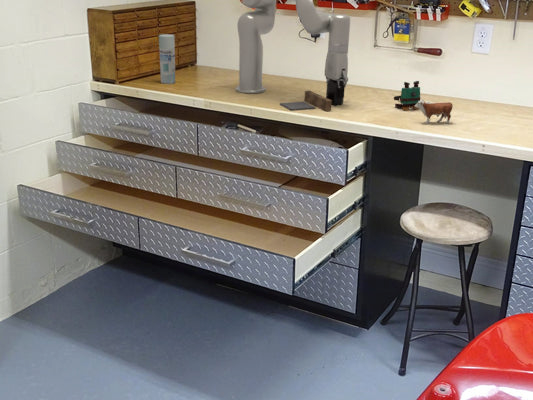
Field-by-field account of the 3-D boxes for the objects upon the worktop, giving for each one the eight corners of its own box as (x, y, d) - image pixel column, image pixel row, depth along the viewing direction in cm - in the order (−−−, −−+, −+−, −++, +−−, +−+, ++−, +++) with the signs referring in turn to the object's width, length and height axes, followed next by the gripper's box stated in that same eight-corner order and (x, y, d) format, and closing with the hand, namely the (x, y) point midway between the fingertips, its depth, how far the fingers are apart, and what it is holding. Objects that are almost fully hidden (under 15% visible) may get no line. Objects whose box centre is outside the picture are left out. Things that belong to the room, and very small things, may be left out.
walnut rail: (304, 100, 249) (304, 90, 248) (308, 100, 250) (309, 90, 248) (326, 111, 234) (327, 100, 232) (331, 111, 235) (331, 100, 233)
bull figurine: (411, 121, 224) (414, 98, 221) (448, 121, 225) (451, 98, 222) (415, 124, 220) (418, 101, 217) (453, 124, 221) (456, 101, 218)
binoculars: (407, 79, 246) (425, 81, 237) (406, 106, 249) (423, 109, 240) (389, 80, 242) (406, 82, 233) (388, 108, 245) (405, 111, 236)
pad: (279, 104, 242) (279, 103, 242) (303, 102, 246) (303, 101, 246) (291, 110, 233) (291, 109, 233) (315, 108, 237) (315, 107, 237)
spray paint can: (158, 83, 273) (156, 35, 266) (163, 80, 279) (162, 34, 272) (172, 84, 272) (171, 36, 265) (177, 81, 278) (176, 34, 271)
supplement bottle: (342, 106, 242) (344, 74, 238) (324, 105, 243) (326, 73, 239) (344, 102, 248) (346, 71, 244) (326, 101, 249) (328, 70, 245)
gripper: (318, 45, 244) (315, 91, 250) (341, 52, 229) (337, 101, 236) (335, 45, 247) (332, 90, 253) (358, 51, 232) (355, 100, 239)
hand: (335, 95), depth 244 cm, fingers closed on supplement bottle, 6 cm apart
